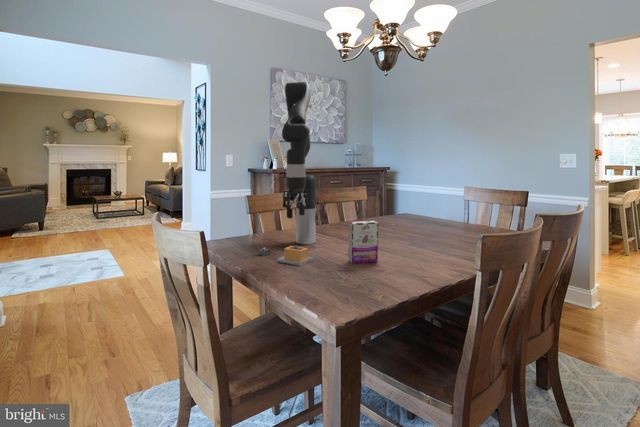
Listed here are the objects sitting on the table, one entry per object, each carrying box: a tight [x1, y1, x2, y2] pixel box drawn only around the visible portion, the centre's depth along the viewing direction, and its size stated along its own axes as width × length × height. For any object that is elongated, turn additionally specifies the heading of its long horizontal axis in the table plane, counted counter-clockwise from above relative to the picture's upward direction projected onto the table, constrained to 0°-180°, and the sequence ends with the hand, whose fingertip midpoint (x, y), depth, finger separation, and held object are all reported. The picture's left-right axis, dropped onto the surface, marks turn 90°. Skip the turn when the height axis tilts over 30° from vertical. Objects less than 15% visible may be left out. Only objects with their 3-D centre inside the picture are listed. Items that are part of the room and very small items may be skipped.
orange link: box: [283, 245, 309, 261], centre depth 150 cm, size 5×8×4 cm, turn 59°
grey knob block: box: [257, 247, 270, 257], centre depth 160 cm, size 4×3×3 cm
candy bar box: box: [347, 220, 379, 265], centre depth 149 cm, size 11×5×16 cm, turn 105°
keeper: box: [277, 245, 315, 267], centre depth 150 cm, size 10×11×6 cm
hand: (295, 216), depth 148 cm, fingers open, 8 cm apart
